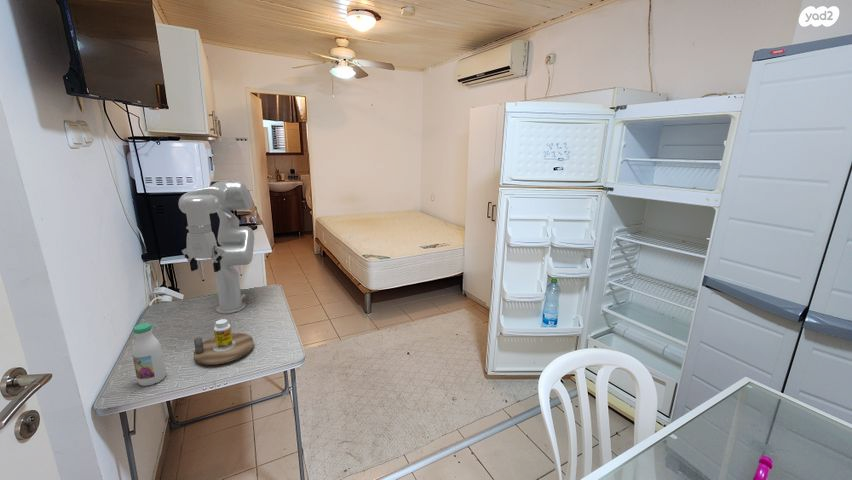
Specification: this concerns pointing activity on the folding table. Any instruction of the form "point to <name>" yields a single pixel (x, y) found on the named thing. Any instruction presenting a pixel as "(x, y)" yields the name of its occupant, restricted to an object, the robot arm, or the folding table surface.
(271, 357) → the folding table surface
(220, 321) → the supplement bottle
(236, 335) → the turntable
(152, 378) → the milk bottle
